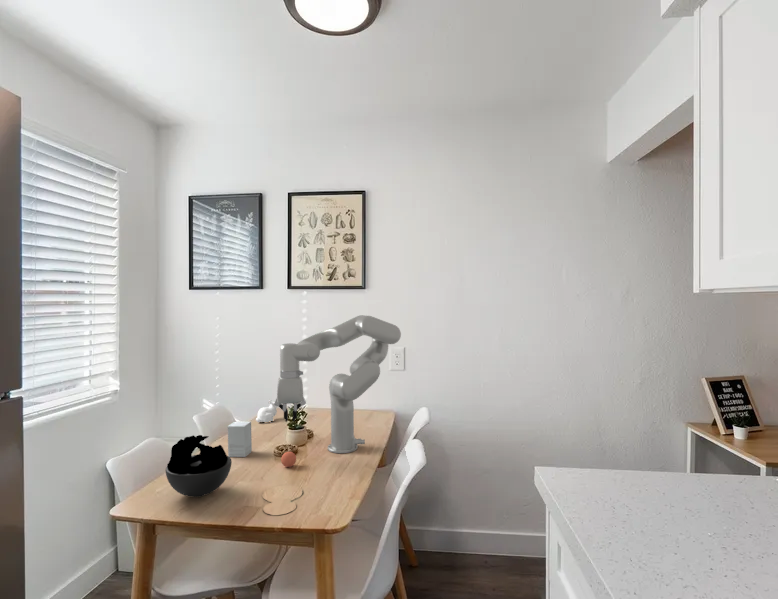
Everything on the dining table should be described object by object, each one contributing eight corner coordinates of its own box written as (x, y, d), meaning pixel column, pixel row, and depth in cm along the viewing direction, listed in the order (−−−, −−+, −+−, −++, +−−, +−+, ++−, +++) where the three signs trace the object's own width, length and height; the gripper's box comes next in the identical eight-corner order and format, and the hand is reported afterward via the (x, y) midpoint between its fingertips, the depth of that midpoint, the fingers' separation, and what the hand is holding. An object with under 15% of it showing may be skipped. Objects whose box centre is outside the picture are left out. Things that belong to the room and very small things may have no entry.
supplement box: (252, 451, 193) (252, 421, 193) (245, 457, 185) (244, 426, 185) (235, 450, 193) (235, 420, 193) (227, 457, 186) (227, 425, 186)
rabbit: (272, 418, 246) (272, 395, 246) (283, 421, 239) (282, 398, 239) (252, 422, 237) (252, 399, 237) (262, 426, 230) (262, 402, 230)
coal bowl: (184, 481, 161) (183, 428, 161) (240, 482, 161) (240, 428, 161) (153, 508, 141) (152, 446, 141) (217, 508, 141) (216, 447, 141)
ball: (296, 463, 178) (296, 449, 178) (295, 468, 173) (295, 454, 172) (281, 464, 177) (281, 449, 177) (280, 469, 172) (280, 454, 172)
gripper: (310, 372, 189) (310, 417, 189) (270, 373, 187) (270, 419, 187) (309, 375, 181) (310, 422, 182) (268, 376, 179) (268, 424, 179)
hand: (290, 420), depth 184 cm, fingers closed
